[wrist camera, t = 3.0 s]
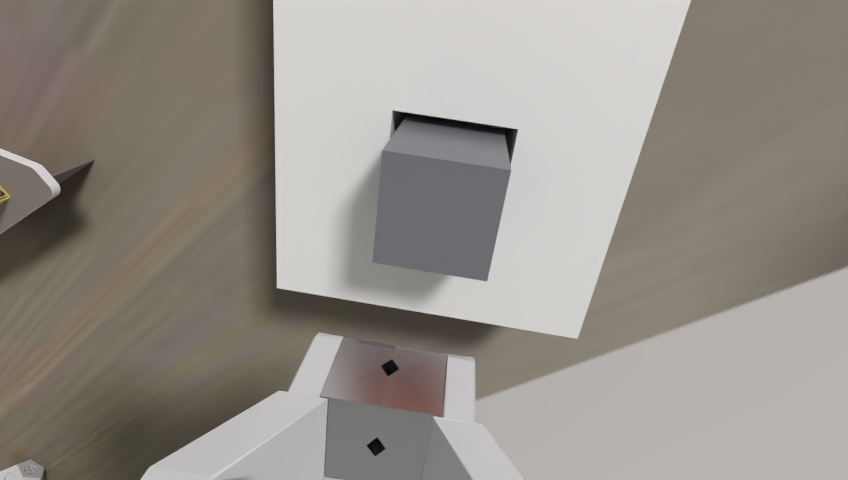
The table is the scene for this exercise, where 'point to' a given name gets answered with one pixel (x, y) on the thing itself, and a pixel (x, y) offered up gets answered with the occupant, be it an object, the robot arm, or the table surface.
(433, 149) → the gray rectangular block
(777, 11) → the table surface
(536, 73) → the block
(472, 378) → the robot arm
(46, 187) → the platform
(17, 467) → the grey irregular lump
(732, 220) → the table surface
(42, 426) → the table surface
